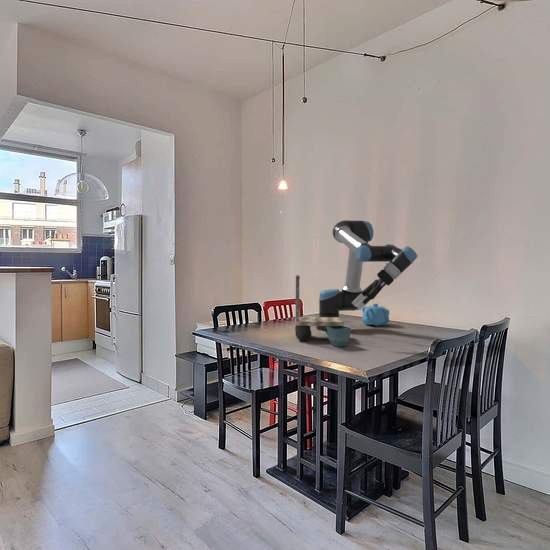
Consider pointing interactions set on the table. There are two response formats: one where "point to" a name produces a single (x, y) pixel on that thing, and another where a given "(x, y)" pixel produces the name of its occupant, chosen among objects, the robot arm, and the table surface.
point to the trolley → (311, 320)
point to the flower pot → (338, 335)
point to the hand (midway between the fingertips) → (355, 306)
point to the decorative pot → (375, 315)
